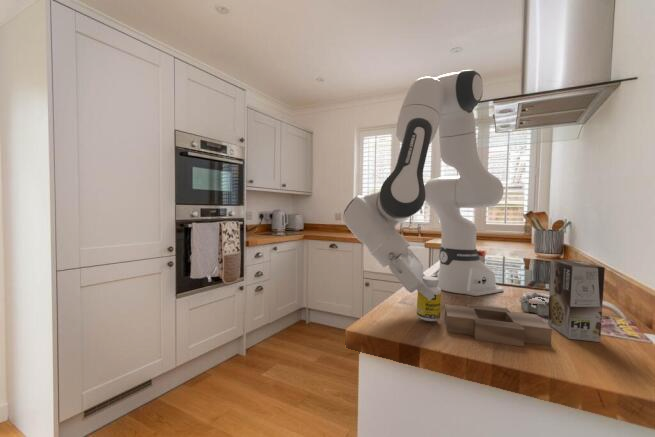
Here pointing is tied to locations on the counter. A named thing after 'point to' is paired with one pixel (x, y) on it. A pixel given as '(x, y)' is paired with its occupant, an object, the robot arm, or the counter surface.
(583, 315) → the coffee box
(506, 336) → the walnut cross stand
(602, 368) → the counter surface
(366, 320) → the counter surface
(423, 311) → the supplement bottle
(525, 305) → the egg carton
